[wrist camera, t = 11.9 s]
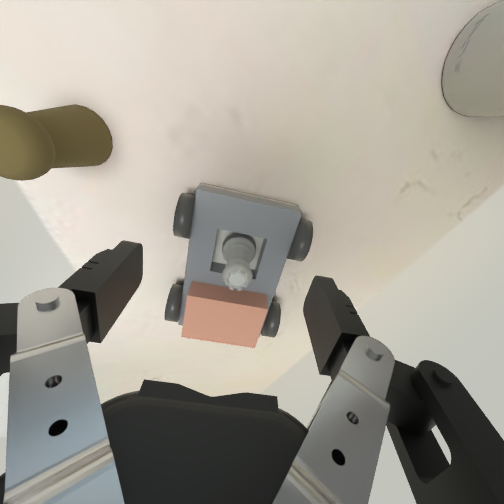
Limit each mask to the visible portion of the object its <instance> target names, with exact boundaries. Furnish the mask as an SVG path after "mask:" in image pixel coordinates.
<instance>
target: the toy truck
mask: <svg viewBox="0 0 504 504" xmlns="http://www.w3.org/2000/svg"><path fill="white" fill-rule="evenodd" d="M301 215H302V212H301V210H300V209H299V207H298V205H295V204H290V203H286V202H282V201H277V200H273V199H269V198H264V197H260V196H256V195H251V194H247V193H243V192H238V191H234V190H230V189H225V188H221V187H216V186H212V185H208V184H203V183H200V185H199V186H198V188H197V189H196V196H195V195H190V194H186V193H182V194H181V195H180V197H179V200H178V203H177V206H176V211H175V216H174V224H173V232H174V236H178V237H183V238H188V239H190V241H189V248H188V256H187V263H186V271H185V279H184V286H183V285H178V284H173V286H172V288H171V290H170V293H169V296H168V300H167V304H166V309H165V320H167V321H174V322H178V321H179V324H178V325H183V328H182V335H181V337H186V338H192V339H199V340H206V341H212V342H219V343H225V344H232V345H238V346H245V347H252V348H255V346H256V343H257V340H258V337H259V336H260V333H261V335H262V336H268V337H275V336H276V334H277V332H278V329H279V324H280V317H281V308H280V304H279V303H278V302H274V301H272V299H273V296H274V293H275V290H276V287H277V284H278V281H279V278H280V276H281V273H282V270H283V267H284V264H285V261H286V258H287V259H292V260H297V261H303V260H304V259H305V257H306V256H307V254H308V252H309V249H310V246H311V242H312V236H313V226H312V223H311V222H310V221H307V220H302V219H300V218H301ZM233 233H241V234H246V235H249V236H251V237H252V239H253V240H254V241H255V244H256V253H255V257H254V259H253V260H252V261H251V263H249V265H250V270H251V271H252V275H253V276H252V281H251V282H250V283H249V285H248V286H247V287H246V288H245V287H244V288H242V290H241V291H238V289H237V288H234V289H233V290H231V289H229V286H227V285H226V284H225V282H224V281H223V278H222V272H223V270H224V269H225V267H226V264H227V261H226V260H225V259H224V257H223V254H222V245H223V242H224V240H225V238H226V237H228V236H229V235H231V234H233Z"/></svg>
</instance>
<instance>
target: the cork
mask: <svg viewBox="0 0 504 504" xmlns="http://www.w3.org/2000/svg"><path fill="white" fill-rule="evenodd" d="M112 148H113V147H112V137H111V134H110V131H109V128H108V127H107V125H106V124H105V122H104V121H103V119H102V118H101V117H99V116H98V115H97V114H96V113H95V112H94V111H92V110H90V109H88V108H87V107H84V106H80V105H69V106H62V107H56V108H51V109H45V110H39V111H33V112H27V113H25V112H23V111H21V110H19V109H16V108H13V107H9V106H4V105H0V176H2V177H4V178H7V179H13V180H31V179H35V178H38V177H40V176H42V175H44V174H46V173H47V172H48V171H49V170H50V169H51V168H65V167H84V166H96V165H100V164H102V163H104V162H106V160H107V159H108V158H109V156H110V155H111V151H112Z"/></svg>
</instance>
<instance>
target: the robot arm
mask: <svg viewBox="0 0 504 504" xmlns="http://www.w3.org/2000/svg"><path fill="white" fill-rule="evenodd" d="M442 87H443V93H444V96H445V99H446V101H447V103H448V105H449V106H450V107H451V108H452V109H453V110H454V111H456V112H457V113H459V114H462V115H465V116H504V0H502V1H500V2H497V3H495V4H493V5H491V6H489V7H487V8H486V9H484V10H483V11H482V12H480V13H479V14H477V15H476V16H475V17H474V18H473V19H472V20H471V21H470V22H469V23H468V24H467V25H466V26H465V27H464V29H463V30H462V31H461V33H460V34H459V35H458V36H457V38H456V40H455V42H454V43H453V45H452V47H451V49H450V51H449V54H448V56H447V59H446V61H445V66H444V70H443V78H442ZM142 275H143V247H142V244H140V243H135V242H129V241H121V242H120V243H119V244H118V245H117V246H116V247H115V248H114V249H113V250H110V249H107V250H105V251H102V252H100V253H98V254H96V255H95V256H93V257H92V258H91V259H90V260H89V261H88V262H87V263H85V264H84V265H83V266H82V268H80V269H79V270H77V271H76V272H75V273H74V274H73V275H72V276H71V277H70V278H68V279H67V280H66V281H65V282H64V283H63V284H61V285H60V286H59V287H58V288H47V289H42V290H39V291H36V292H33V293H31V294H29V295H28V296H26V297H25V298H23V299H22V300H21V302H20V303H7V304H0V376H1V375H2V374H3V373H7V372H10V376H9V401H8V426H7V451H6V472H5V473H4V474H2V475H1V476H0V504H368V501H369V496H370V492H371V488H372V484H373V479H374V475H375V471H376V466H377V462H378V458H379V453H380V449H381V445H382V440H383V436H384V431H385V426H387V428H388V431H389V433H390V436H391V438H392V441H393V443H394V446H395V449H396V451H397V454H398V456H399V459H400V462H401V464H402V467H403V469H404V472H405V475H406V477H407V480H408V482H409V485H410V487H411V490H412V493H413V495H414V498H415V500H416V503H417V504H504V440H503V439H502V438H501V436H500V435H499V433H498V432H497V431H496V429H495V428H494V427H493V425H492V424H491V423H490V421H489V420H488V418H487V417H486V416H485V414H484V413H483V412H482V410H481V409H480V408H479V406H478V405H477V404H476V402H475V401H474V400H473V398H472V397H471V395H470V394H469V393H468V391H467V390H466V389H465V387H464V386H463V385H462V383H461V382H460V381H459V379H458V378H457V377H455V375H454V374H453V373H451V372H450V371H449V370H448V369H446V368H445V367H443V366H441V365H440V364H438V363H435V362H432V361H428V360H424V361H421V362H420V363H419V364H418V366H417V367H416V368H414V367H412V366H409V365H407V364H404V363H402V362H399V361H397V360H395V359H394V356H393V354H392V353H391V351H390V350H389V349H388V348H387V347H386V346H385V345H384V344H383V343H381V342H380V341H378V340H376V339H374V338H372V337H370V336H369V334H368V332H367V330H366V328H365V326H364V325H363V323H362V321H361V319H360V317H359V315H357V311H356V310H355V308H354V306H353V304H352V302H351V300H350V298H349V297H348V296H347V295H346V294H345V293H344V292H343V291H341V290H338V288H337V286H336V284H335V282H334V280H333V279H332V278H328V277H322V276H315V277H314V279H313V281H312V284H311V286H310V289H309V291H308V294H307V296H306V299H305V302H304V307H303V312H304V317H305V320H306V324H307V328H308V332H309V336H310V339H311V343H312V347H313V351H314V354H315V358H316V362H317V366H318V370H319V374H321V375H328V376H331V379H332V381H331V383H330V385H329V387H328V389H327V390H326V392H325V394H324V396H323V398H322V400H321V402H320V404H319V406H318V408H317V409H316V411H315V413H314V415H313V417H312V419H311V421H310V422H309V424H308V426H307V428H306V427H305V426H304V425H303V424H301V423H300V422H299V421H298V420H297V419H296V418H295V417H293V416H292V415H290V414H289V413H287V412H285V411H283V410H281V409H279V408H278V402H277V397H276V396H269V395H261V394H253V393H238V394H231V395H224V396H217V397H210V396H207V395H204V394H202V393H199V392H197V391H194V390H192V389H189V388H187V387H185V386H182V385H180V384H175V383H167V382H159V381H151V380H144V381H143V384H142V386H141V388H140V391H135V392H130V393H126V394H123V395H120V396H117V397H115V398H113V399H110V400H108V401H106V402H104V403H103V404H100V399H99V395H98V391H97V386H96V382H95V378H94V373H93V369H92V365H91V360H90V356H89V352H88V347H87V343H88V342H96V343H101V342H102V341H103V339H104V338H105V336H106V335H107V333H108V332H109V330H110V329H111V327H112V326H113V324H114V323H115V321H116V320H117V318H118V317H119V315H120V314H121V312H122V311H123V309H124V308H125V306H126V305H127V303H128V302H129V300H130V299H131V297H132V296H133V294H134V293H135V291H136V290H137V288H138V287H139V285H140V283H141V280H142ZM435 425H437V427H438V429H439V430H440V432H441V434H442V436H443V437H444V439H445V441H446V443H447V445H448V447H449V449H450V452H451V464H450V465H449V463H448V461H447V459H446V457H445V455H444V453H443V451H442V449H441V448H440V446H439V444H438V442H437V440H436V438H435V436H434V434H433V432H432V431H431V429H432V428H433V427H434V426H435Z"/></svg>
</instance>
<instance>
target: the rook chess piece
mask: <svg viewBox="0 0 504 504" xmlns="http://www.w3.org/2000/svg"><path fill="white" fill-rule="evenodd" d="M255 253H256V244H255V241H254V240H253V239H252V237H251V236H249V235H246V234H241V233H233V234H231V235H229V236H228V237H226V238H225V240H224V242H223V245H222V254H223V257H224V259H225V260H226V261H227V264H226V267H225V269H224V270H223V272H222V278H223V281H224V282H225V284H226V285H227V286H229V289H231V290H233V289H234V288H237V289H238V291H241V290H242V288H244V287H245V288H246V287H247V286H248V285H249V283H250V282H251V281H252V276H253V275H252V271H251V270H250V265H249V263H251V261H252V260H253V259H254V257H255Z"/></svg>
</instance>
